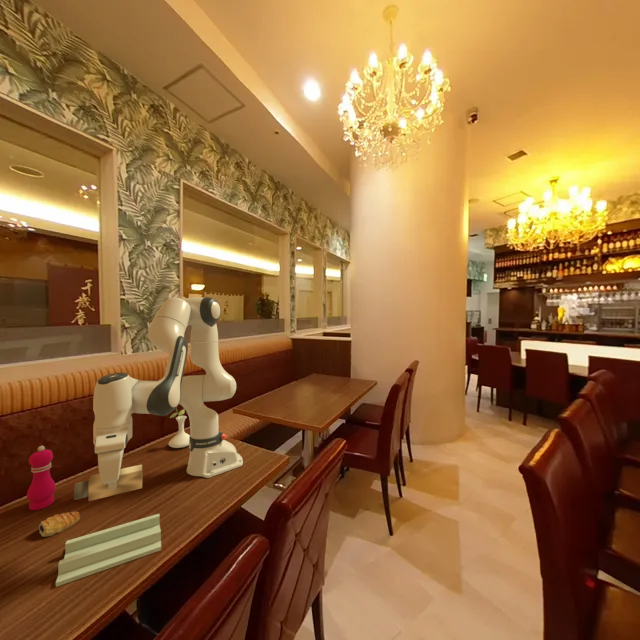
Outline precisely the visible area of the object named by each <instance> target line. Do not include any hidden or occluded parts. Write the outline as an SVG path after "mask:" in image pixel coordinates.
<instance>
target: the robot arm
mask: <svg viewBox="0 0 640 640" xmlns="http://www.w3.org/2000/svg"><path fill="white" fill-rule="evenodd" d="M221 307H222V306H221V305H220V302H219V301H218V300H217V299H216V298H214V297H210V296H209V297H207V296H205V297H199V296H198V297H196V296H194V297H193V296H192V297H186V298H180V297H170V298H167V299H166V300H165V301H164V302H163V304H161V306H160V307H159V309H158V310H157V312H156V313H155V315H154V317H153V319H152V321H151V323H150V325H149V326H148V329H147V337H148V339H149V341H150V343H151V344H152V345H154V346H155V348H157V349H159V350H161V351H163V352H165V353H167V354H168V358H167V362H166V366H165V369H164V370H165V371H164V375H163V377H162V378H161V379H159V380H145V379H143V380H142V379H137V378H134V377H132V376H130V375H129V373H126V372H114V373H108V374H107V375H104V376H101V377H100V378H99V379H97V381H96V383H95V386H94V391H93V399H92V401H93V402H92V408H93V410H92V411H93V413H94V421H93V428H92V429H93V430H92V431H93V434H92V435H93V445H94V454H97V464H98V474H99V475H100V481H101V483H102V484H107V483H108V490H114V489H116V487H117V481H118V479H119V474H120V469H122V468H121V467H122V462H123V458H124V457H123V456H124V450H125V448H126V446H127V444H128V442H129V441H130V440H131V439H132V438H133V416H132V414H134V413H135V414H148V415H149V414H151V415H154V416H159V417H166V416H168V415H169V414H171V413H172V412H173V411H174V410H176V409H177V407H178V406H179V405H180V406H182V408H183V409H185V411H186V414H187V415H188V419H189V428H190V429H189V430H190V434H189V435H190V437H189V445H188V448H189V458H188V463H187V467H186V474H187V475H190V476H192V477H193V476H194V477H203V478H206V479H209V478H213V477H214V476H218V475H220V474H223V473H227V472H229V471H231V470H234V469H237V468H241V467H242V466H243V464H244V460H243V457H242V455H240V453H238V451H237V448H236V446H234V444H232V443H231V442H230V441H227V440H226V439H227V435H226V434H224V432H222V431H221V430H219V429H220V428H219V425H220V424H219V421H220V420H219V414H218V413H217V412H216V410H214V409H212V408H210V407H207V406H206V405H205V404H204V403H205V402H206V403H207V402H219V401H225V400H228V399H232V398H233V396H234V395H235V393H236V391H237V382H236V379H235V378H234V376H232V375H231V374H229V372H227V371H226V370H225V369H224V367H223V366H222V363H221V361H220V353H219V352H220V351H219V332H218V331H219V330H218V327H217V325H218V324H217V322H218V321H219V320H220V317H221V313H222V309H221ZM188 326H191V331H190V349H189V343H188V340H187V338H185V333H186V330H187V327H188ZM188 351H189V352H190V355H189V356H190V357H189V358H190V361H191V363H192V364H193V365H195V366H197V367H199V368H202V369H203V370H204V371H205V374H199V375H187V376H185V375H184V374H185V368H186V363H187V357H188Z"/></svg>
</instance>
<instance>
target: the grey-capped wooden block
mask: <svg viewBox="0 0 640 640" xmlns="http://www.w3.org/2000/svg"><path fill="white" fill-rule="evenodd" d="M139 489H143V464H138V465H133V466H127V467H124V468H120V474H119V479H118V481H117V487H116V489H114V490H108V483H107V484H102V483H101V481H100V475H99V473H95V474H91V475H90V476H89V479H87V480H82V481H79V482H75V483H74V489H73V500H74V501H75V500H80V499H83V498H84V499H85V498H88V502H91V501H96V500H99V499H103V498H107V497H112V496H115V495H118V494H124V493H127V492H132V491H136V490H139Z"/></svg>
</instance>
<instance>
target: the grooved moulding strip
mask: <svg viewBox="0 0 640 640" xmlns="http://www.w3.org/2000/svg"><path fill="white" fill-rule="evenodd" d="M160 516H161V515H160V513H157V514H153V515H149V516H146V517H142V518H140V519H136V520H132V521H129V522H126V523H122V524H119V525H115V526H112V527H109V528H106V529H103V530H99V531H95V532H92V533H89V534H85V535H82V536H78V537H76V538H72V539H67V540H66V542H65V546H64V547H65V549H64V552H65V554H64V558H63V559H61V560H59V561H58V564H57V569H58V573H57V577H56V580H55V587H56V588H57V587H60V586H63V585H66V584H69V583H71V582H72V583H73V582H74V581H75V582H76V581H78V580H80V579H83V578H86V577H89V576H91V575H95V574H98V573H100V572H102V571H106V570H108V569H111V568H114V567H117V566H120V565H123V564H126V563H129V562H132V561H134V560H137V559H140V558H143V557H146V556H149V555H151V554H154V553H157V552H160V551H162V531H161V524H160V523H161V522H160V521H161V520H160V519H161V517H160Z"/></svg>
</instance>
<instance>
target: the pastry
mask: <svg viewBox="0 0 640 640" xmlns="http://www.w3.org/2000/svg"><path fill="white" fill-rule="evenodd" d="M80 515H81V514H80V512H79V511H71V512H70V511H69V512H62V513H58V514H54V515H53V516H50V517H47V518H46V519H45V520H42V521H40V523H39V525H38V530H39V534H40V535H41V537H44V538H45V537H51V536H52V537H53V536H54V535H55V534H57V533H61V532H63V531H65V530H67V529H69V528H70V527H72V526H73V525H75V524H76V523H77V522H78V521H80V519H81V516H80Z"/></svg>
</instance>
